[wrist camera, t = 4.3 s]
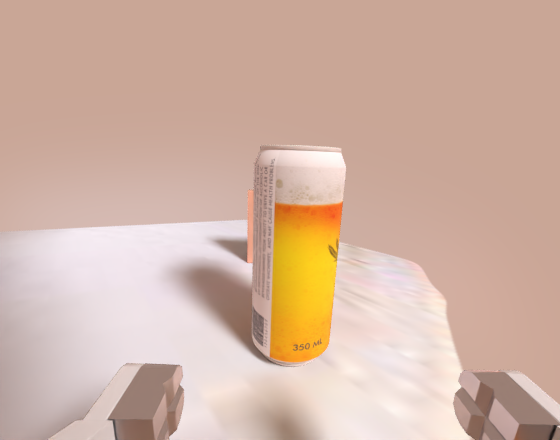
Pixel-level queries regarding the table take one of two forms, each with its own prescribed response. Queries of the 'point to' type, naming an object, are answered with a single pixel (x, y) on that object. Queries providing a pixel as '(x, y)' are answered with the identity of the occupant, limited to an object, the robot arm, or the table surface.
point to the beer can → (295, 249)
